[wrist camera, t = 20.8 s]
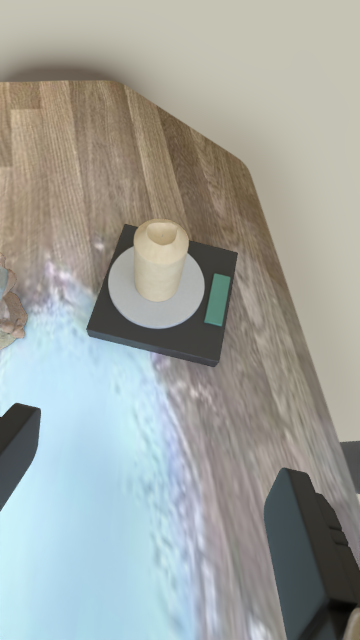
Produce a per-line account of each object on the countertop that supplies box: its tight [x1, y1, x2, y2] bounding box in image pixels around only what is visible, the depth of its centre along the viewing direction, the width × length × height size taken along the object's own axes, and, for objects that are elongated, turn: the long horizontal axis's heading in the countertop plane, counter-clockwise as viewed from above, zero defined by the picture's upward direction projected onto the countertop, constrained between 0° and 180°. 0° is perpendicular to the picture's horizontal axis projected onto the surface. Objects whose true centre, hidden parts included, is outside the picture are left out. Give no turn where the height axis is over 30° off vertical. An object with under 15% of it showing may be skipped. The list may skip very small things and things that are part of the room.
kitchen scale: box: [86, 224, 238, 367], centre depth 41 cm, size 16×16×3 cm
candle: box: [134, 219, 189, 302], centre depth 35 cm, size 6×6×10 cm
